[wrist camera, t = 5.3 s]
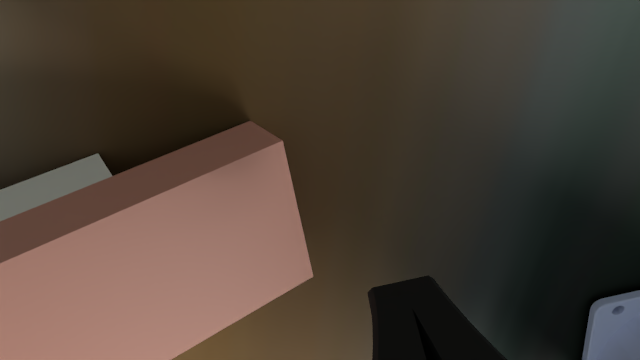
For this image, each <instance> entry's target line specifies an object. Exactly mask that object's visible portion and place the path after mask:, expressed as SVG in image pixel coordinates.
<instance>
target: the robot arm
mask: <svg viewBox="0 0 640 360" xmlns="http://www.w3.org/2000/svg"><path fill="white" fill-rule="evenodd" d="M368 297H369V303H370V308H371V313H372V323H373V358H372V360H507V359H506V358H505V357H504V356H503V355H502V354H501V353H500V352H499V351H498V350H497V349H496V348H495V347H494V346H493V345H492V344H491V343H490V342H489V341H488V340H487V339H486V338H485V337H484V336H483V335H482V334H481V333H480V332H479V331H478V330H477V329H476V328H475V327H474V326H473V325H472V324H471V323H470V321H469V320H468V319H467V318H466V317H465V316H464V315H463V314H462V313H461V312H460V310H459V309H458V308H457V307H456V306H455V305H454V304H453V302H452V301H451V300H450V299H449V298H448V296H447V295H446V294H445V293H444V292H443V290H442V289H441V288H440V287H439V285H438V284H437V283H436V281H435V280H434V279H433V278H432V277H430V276H424V277H419V278H415V279H410V280H406V281H401V282H397V283H392V284H387V285H383V286H378V287H374V288H372V289H371V290H370V291H369V292H368ZM582 360H640V290H638V291H634V292H629V293H624V294H620V295H615V296H611V297H606V298H602V299H599V300H597V301H595V302H594V303H593V304H592V306H591V308H590V312H589V318H588V325H587V331H586V337H585V343H584V350H583V356H582Z"/></svg>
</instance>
